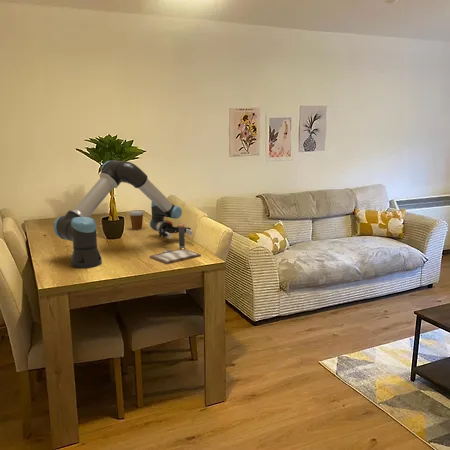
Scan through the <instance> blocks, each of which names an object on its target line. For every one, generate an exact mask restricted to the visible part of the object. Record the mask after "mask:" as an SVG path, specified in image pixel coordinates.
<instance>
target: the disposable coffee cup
mask: <svg viewBox="0 0 450 450" xmlns="http://www.w3.org/2000/svg"><path fill="white" fill-rule="evenodd" d="M129 217H130V223H131V228H132V231H133V230H134V231H139V230H143V221H144V220H143V219H144V211H143V210H137V209H136V210H130V211H129Z"/></svg>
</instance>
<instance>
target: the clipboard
mask: <svg viewBox="0 0 450 450" xmlns="http://www.w3.org/2000/svg"><path fill="white" fill-rule="evenodd" d="M201 256H202V255H201V253H198V252H195V251H192V250H189V249H186V248H184V249H175V250H173V249H166V250H163V251H162V252H161V253H156V254H152V255H149V258H150V259H151V260H154V261H158V262H159V263H163V264H164V265H170V264H174V263H178V262H181V261H186V260H190V259H191V260H192V259H195V258H198V257H201Z"/></svg>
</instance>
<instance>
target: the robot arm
mask: <svg viewBox="0 0 450 450" xmlns="http://www.w3.org/2000/svg"><path fill="white" fill-rule="evenodd" d="M148 177H149V176H148V175H147V173H145V172H144V171H143V170H142V169H141V168H140V167H139V166H138V165H136V164H134V163H133V162H131V161H125V160H124V161H123V160H114V159H113V160H108V161H106V162H104V163H103V164H102V166H101V168H100V173H99V179H98V180H97V182H95V184H94V185H93V186H92V188H90V190H89V191H88V192H87V193H86V194H85V196H83V198H82V199H81V200H80V202H78V204H77V205H76V206H75V208H73V209H70V210H68V211H67V212H66V213H65V215H62V216H59V217H57V218H56V219H55V221H54V222H53V232H54V234H55V235H56V236H57V237H58V238H59V239H62V240H66V241H70V242H72V249H73V250H72V254H71V259H70V266H71V267H73V268H76V269H84V268H85V269H87V268H93V267H94V268H95V267H98V266H99V265H101V264H102V263H103V262H102V256H101V254H100V251H99V249H98V239H97V223H96V221H95V219H93V218H92V217H91V216H92V214H93V213H94V212H95V211H96V209H97V208H98V207H99V205H100V204H101V203H103V201H104V200H105V198H106V197H108V195H109V193H110V192H111V191H112V189H117V188H118V187H119V186H120V184H121V183H126V184H128V185H131V186H133V188H135V189H138V190H139V191H141V192H142V193H143V195H145V196H146V197H147V198H148V199H149V201H151V207H150V208H151V220H150V221H149V228H150V229H152V230H153V231H156V232H158V236H159V237H160V238H161V237H162V238H163V239H165V238H168V239H169V240H170V239H171V240H172V234H177V233H178V234H179V227H178V226H172V224H173V223H172V224H170V223H168V222H166V221H165V218H171V219H175V220H176V219H179V218H181V216H182V215H183V209H182V208H181V207H180V206H178V205H175V204H173V202H171V201H170V200H169V198H167V197H166V196H165V194H163V192H162V191H161V190H159V188H158V187H157V186H156V185H154V183H152V182H151V180H150V179H149V178H148ZM191 228H192V227H187V226H185V227H184V233H185V234H186V235H189V236H193V234H194V233H193V230H191Z"/></svg>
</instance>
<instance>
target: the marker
mask: <svg viewBox="0 0 450 450" xmlns="http://www.w3.org/2000/svg"><path fill="white" fill-rule="evenodd" d="M178 227H179V232H178V248H180V249H182V248H184V249H186V246H185V245H186V240H185V238H186V237H185V234H186V233H184V227H186V226H185V223H178Z"/></svg>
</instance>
